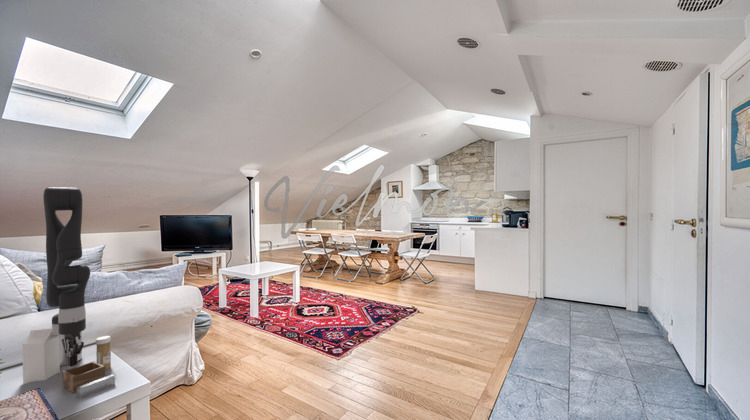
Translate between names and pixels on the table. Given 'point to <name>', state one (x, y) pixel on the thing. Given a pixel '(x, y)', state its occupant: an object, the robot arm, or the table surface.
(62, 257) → the robot arm
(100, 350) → the sprinkles bottle
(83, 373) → the block
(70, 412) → the table surface
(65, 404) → the table surface
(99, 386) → the rail
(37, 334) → the milk carton
